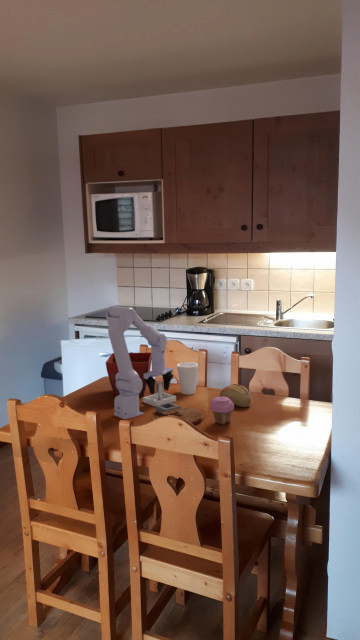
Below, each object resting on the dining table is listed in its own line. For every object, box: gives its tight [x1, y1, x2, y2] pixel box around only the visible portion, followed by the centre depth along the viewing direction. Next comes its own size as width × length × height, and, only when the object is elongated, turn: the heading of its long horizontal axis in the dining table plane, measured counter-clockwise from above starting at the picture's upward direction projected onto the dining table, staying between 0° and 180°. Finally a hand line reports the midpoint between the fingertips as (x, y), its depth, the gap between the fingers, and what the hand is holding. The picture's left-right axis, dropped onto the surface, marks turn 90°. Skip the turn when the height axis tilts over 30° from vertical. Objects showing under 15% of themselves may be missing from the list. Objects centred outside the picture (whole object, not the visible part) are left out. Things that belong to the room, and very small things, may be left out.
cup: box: [154, 402, 181, 413], centre depth 206 cm, size 7×7×3 cm
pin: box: [155, 381, 164, 401], centre depth 219 cm, size 3×3×8 cm
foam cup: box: [176, 361, 199, 396], centre depth 232 cm, size 10×9×13 cm
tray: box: [142, 391, 177, 407], centre depth 220 cm, size 11×9×2 cm
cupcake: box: [209, 396, 235, 425], centre depth 193 cm, size 9×9×10 cm
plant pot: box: [105, 352, 152, 398], centre depth 233 cm, size 19×19×17 cm
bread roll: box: [219, 383, 252, 408], centre depth 215 cm, size 10×15×8 cm, turn 43°
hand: (159, 391), depth 219 cm, fingers open, 7 cm apart
